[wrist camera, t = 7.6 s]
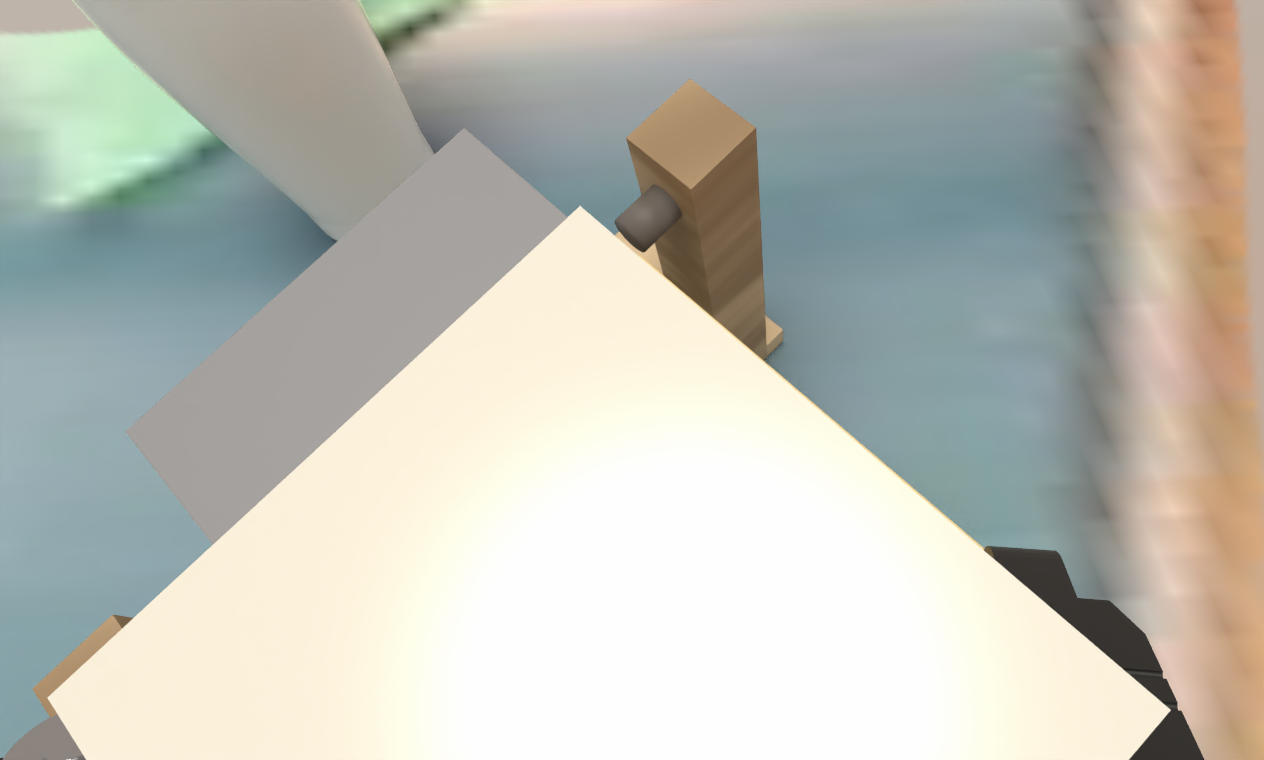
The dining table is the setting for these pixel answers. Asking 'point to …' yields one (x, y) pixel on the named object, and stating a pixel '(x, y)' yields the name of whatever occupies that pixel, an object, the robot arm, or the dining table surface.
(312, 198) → the drinking glass
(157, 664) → the white square pillar
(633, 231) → the frame
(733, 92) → the dining table surface
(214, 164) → the dining table surface
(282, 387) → the trapdoor
